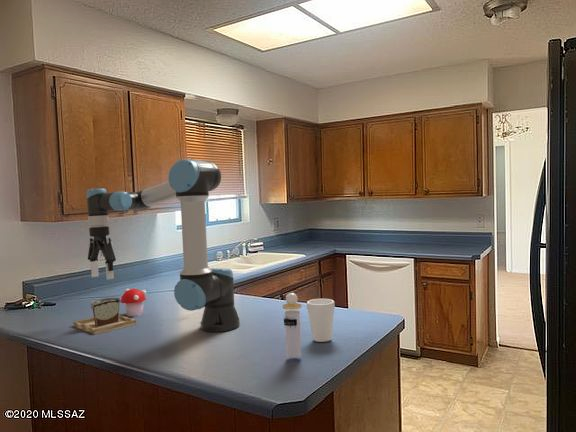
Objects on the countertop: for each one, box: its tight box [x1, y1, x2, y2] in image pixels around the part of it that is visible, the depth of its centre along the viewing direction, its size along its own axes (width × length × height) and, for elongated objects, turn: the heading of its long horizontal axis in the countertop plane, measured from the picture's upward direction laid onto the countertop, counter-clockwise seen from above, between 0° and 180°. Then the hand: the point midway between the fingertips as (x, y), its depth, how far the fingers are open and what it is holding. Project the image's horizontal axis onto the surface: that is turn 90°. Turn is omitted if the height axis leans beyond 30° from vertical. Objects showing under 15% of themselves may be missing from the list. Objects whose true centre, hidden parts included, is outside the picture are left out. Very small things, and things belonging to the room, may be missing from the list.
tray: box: [72, 314, 137, 335], centre depth 185 cm, size 20×17×2 cm
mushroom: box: [120, 288, 147, 318], centre depth 200 cm, size 11×11×12 cm
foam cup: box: [306, 298, 336, 343], centre depth 155 cm, size 10×9×13 cm
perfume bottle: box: [282, 292, 302, 358], centre depth 138 cm, size 6×6×20 cm
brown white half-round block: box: [90, 297, 122, 328], centre depth 185 cm, size 12×6×10 cm, turn 140°
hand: (102, 277), depth 184 cm, fingers open, 13 cm apart
